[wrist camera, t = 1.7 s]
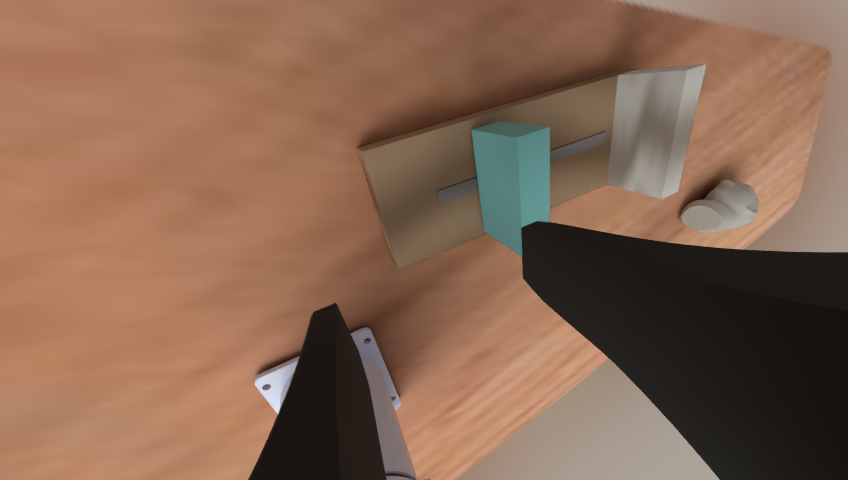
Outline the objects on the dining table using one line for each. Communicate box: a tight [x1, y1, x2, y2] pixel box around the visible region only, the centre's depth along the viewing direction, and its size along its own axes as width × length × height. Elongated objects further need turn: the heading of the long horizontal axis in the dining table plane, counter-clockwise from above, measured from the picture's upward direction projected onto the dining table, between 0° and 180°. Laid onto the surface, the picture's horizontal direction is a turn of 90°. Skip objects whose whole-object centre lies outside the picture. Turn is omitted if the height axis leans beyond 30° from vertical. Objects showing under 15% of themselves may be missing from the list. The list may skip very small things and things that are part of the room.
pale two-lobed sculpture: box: [680, 180, 759, 233], centre depth 30 cm, size 4×8×5 cm
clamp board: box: [357, 64, 706, 270], centre depth 18 cm, size 8×19×6 cm, turn 102°
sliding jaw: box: [472, 122, 550, 256], centre depth 17 cm, size 6×2×4 cm, turn 12°
